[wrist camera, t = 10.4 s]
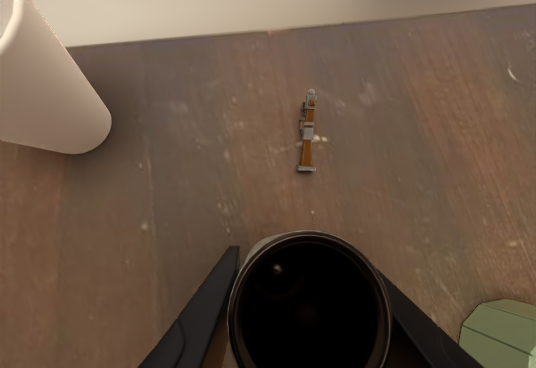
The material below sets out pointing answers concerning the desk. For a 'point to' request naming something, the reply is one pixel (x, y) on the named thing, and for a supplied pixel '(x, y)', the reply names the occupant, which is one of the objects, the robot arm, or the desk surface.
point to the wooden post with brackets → (307, 131)
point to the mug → (501, 334)
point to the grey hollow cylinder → (309, 305)
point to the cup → (44, 87)
